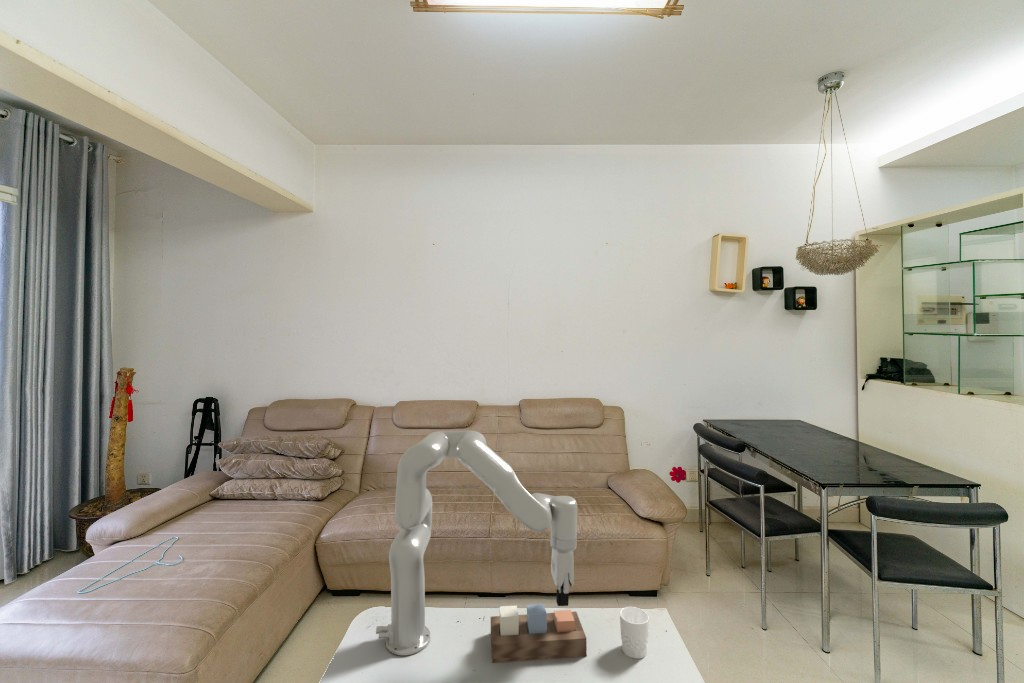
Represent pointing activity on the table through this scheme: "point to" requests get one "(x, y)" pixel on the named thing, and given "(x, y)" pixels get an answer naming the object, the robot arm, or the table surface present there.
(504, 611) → the cream key
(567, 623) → the peach block
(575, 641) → the brown long flat block
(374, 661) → the table surface
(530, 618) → the slate key
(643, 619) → the white cup
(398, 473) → the robot arm
